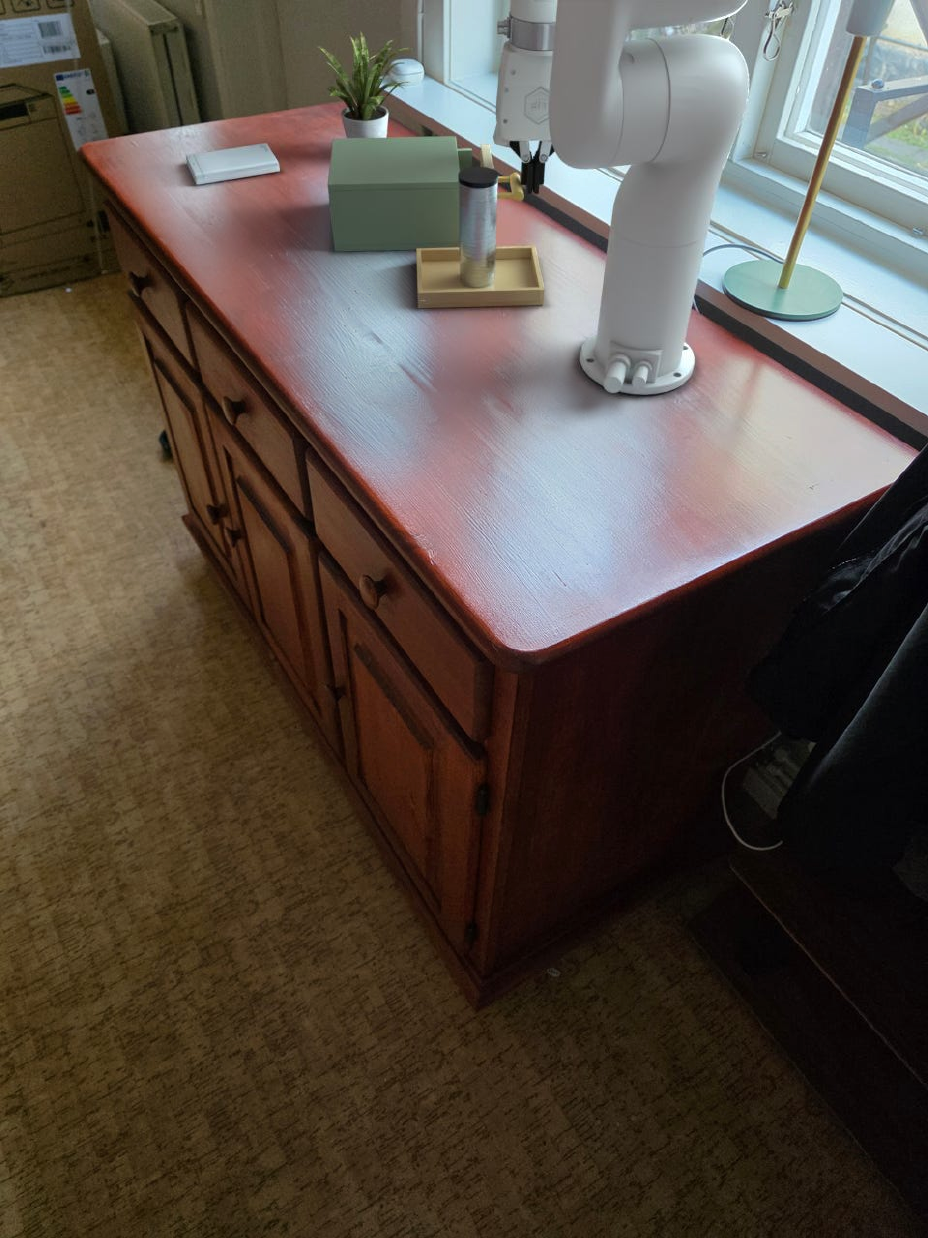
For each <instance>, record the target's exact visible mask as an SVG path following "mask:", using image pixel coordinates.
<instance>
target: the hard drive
mask: <svg viewBox="0 0 928 1238" xmlns="http://www.w3.org/2000/svg"><path fill="white" fill-rule="evenodd" d="M185 160H186V161H185V162H186V164H187V166H188V169H189V171H190V173H191V176H192V178H193V180H194V182H195V184H196V185H197V186H198V185H204V184H205V185H206V184H210V183H217V182H223V181H224V182H225V181H230V180H236V179H242V178H247V177H248V178H249V177H254V176H261V175H266V174H272V173H279V172H280V171H281V169H280V163H279V161H278V159H277V158H276V155H275V153H273V151H272V150H271V148H270V146H269V145H268V143H267V142H263V143H258V144H250V145H243V146H237V147H231V148H223V149H218V150H217V149H216V150H212V151H211V150H210V151H203V152H198V153H192V154H186V155H185ZM205 177H207V178H205ZM199 178H200V179H199Z"/></svg>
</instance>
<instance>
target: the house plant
mask: <svg viewBox="0 0 928 1238" xmlns="http://www.w3.org/2000/svg"><path fill="white" fill-rule="evenodd" d="M348 36H349V38H350V40H351V43H352V45H353V49H352V50H353V53H352V54H353V63H352V65H353V66H352V68H353V70H352V71H351V78H352V82H353V85H352V83H351V81H350V79H349V78H348V75H347V73H346V72H345V69H344V68H343V67H342V65H341V63H340V62H339V61H338V60H337V57H335V56H334V55H333V54H332V53H330V52H329V51H327V50H326V49H324V48H323V47H322V46H318V45H314V46H315V47H317V48H318V49H320V51H322V52H323V53H324V54H325V55H326V57H327V58H328V59H329V61H330V62H331V63H330V62H328V61H326V64H328V65H329V66H331V67H332V69H333V71H335V72H336V73H337V74H338V75H336V74H335V73H333V77H334V78H335V82H336V85H337V87H336V86H329V87H326V88H325V89H326V90H327V91H329V92H331V93H330V94H329V96H328V98H331V97H338V98H340V99H341V100H342V101H343V102H344V103H345V105H346V107H345V108H343V109H342V111H341V112H340V115H341V116H340V117H341V120H342V124H343V129H344V133H345V138H386V137H388V123H389V110H388V109H387V108H386V107H385V106H382V104H383V103H384V101H385V100H386V99H387V98H388V97H389V95H390V94H391V93H392V92H393V91H394V90H395V89H396V88H398V87H399V88H401V89H403V90H405V88H404V87H403V86H402V84H408V83H410V81H401V82H399V83H395V82H389V83H386V84H383V85H382V86H381V84H382V83H383V81H384V79H385V77H386V76H387V74H388V73H389V72H390V71H391V70H392V69H393V68H394V67H395V66H397V65H402V64H404V62H401V61H400V62H395V63H393V64H391V66H389V67H388V69H386V67H385V66H386V65H387V63H388V62H389V61H390V60H391V59H392V58H394V56H396V55H397V54H399V53H400V52H402V51H407V50H413V47H403V48H399V49H396V50H395V51H393V52H391V54H389V55H388V52H389V51H390V50H392V47H390V46H391V44H392V43H393V42H395V40H396V37H393V38H392V39H390V40H388V41H387V42H386V43H385V44H384V45H383V47H382V48H381V49H380V51H379V52H378V53H377V54H375V55H372V56H371V57H369V49H368V45H367V41H366V39H365V36H364V34H363V32H362V31H360V39H359V38H358V36H357V35H356V36H355V38H354V39H353V38H352V37H351V35H350V34H349V35H348ZM360 42H361V43H360ZM387 55H388V57H387ZM375 57H376V58H375ZM386 57H387V58H386ZM374 58H375V60H374V63H373V65H372V66H371V68H370V61H371V60H373V59H374ZM385 58H386V59H385ZM332 64H333V65H332ZM385 70H386V71H385ZM383 71H385V72H384V75H382V73H383ZM381 75H382V77H381ZM338 76H339V77H338ZM380 77H381V78H380ZM340 78H341V79H340ZM342 81H343V82H344V84H345V85H346V87H347V88H346V87H345V85H344V84H343V83H342ZM380 86H381V87H380ZM391 87H392V88H391ZM388 88H391V89H390V90H389V91H388V92H387V94H386V95H384V94H381V93H382V92H383V91H384V90H386V89H388ZM349 92H350V93H349ZM380 94H381V95H380Z"/></svg>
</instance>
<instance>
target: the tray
mask: <svg viewBox="0 0 928 1238" xmlns="http://www.w3.org/2000/svg"><path fill="white" fill-rule="evenodd" d="M415 254H416V255H415V257H416V287H417V290H416V291H417V308H418V309H437V308H439V309H441V308H475V307H476V308H477V307H481V308H482V307H511V306H512V307H517V306H519V307H520V306H521V307H522V306H544V304H545V291H546V289H545V286H544V281H543V277H542V272H541V267H540V262H539V258H538V253H537V248H536V245H505V246H504V245H503V246H502V245H501V246H499V245H498V246H497V245H496V257H495V281H494V282H493V284H491V285H490V286H487V287H483V288H472V287H468V286H465V285H463V284H462V283H461V282H460V247H455V248H416V250H415ZM421 300H425V301H421Z"/></svg>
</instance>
